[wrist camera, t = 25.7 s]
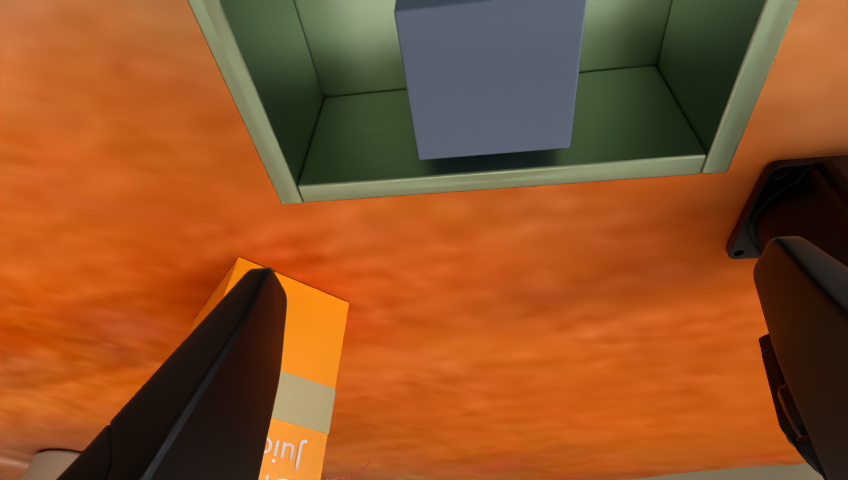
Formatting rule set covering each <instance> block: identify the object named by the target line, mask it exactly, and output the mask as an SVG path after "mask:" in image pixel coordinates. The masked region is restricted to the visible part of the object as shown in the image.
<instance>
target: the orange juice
mask: <svg viewBox="0 0 848 480" xmlns="http://www.w3.org/2000/svg"><path fill="white" fill-rule="evenodd" d="M254 268H264V267H262V266H260V265H257V264H255V263H252V262H250V261H248V260H245V259H243V258H240V257H238V259H237V260H236V261H235V263H234V264H233V266H232V267H231V269H230V270H229V271H228V273H227V274H226V276H225V277H224V279H223V280H222V281H221V283H220V284H219V286H218V287H217V288H216V290H215V291H214V293H213V294H212V296H211V297H210V298H209V300H208V301H207V303H206V304H205V306H204V307H203V308H202V310H201V311H200V313H199V314H198V315H197V317H196V318H195V320H194V322H193V324H192V327H191V329H190V331H189V334H188V336H189V335H190V334H191V333H192V331H193V330H194V329H195V328H196V327H197V326H198V325H199V324H200V323H201V322H202V321H203V319H204V318H205V317H206V316H207V315H208V314H209V313H210V312H211V311H212V310H213V308H214V307H215V306H216V305H217V304H218V303H219V302H220V301H221V300H222V299H223V297H224V296H225V295H226V294H227V293H228V292H229V291H230V290H231V289H232V288H233V286H234V285H235V284H236V283H237V282H238V281H239V280H240V279H241V278H242V277H243V275H244V274H245V273H246V272H247V271H249V270H250V269H254ZM275 274H276V276H277V278H278V279H279V281H280V283H281V285H282V287H283V288H284V290H285V292H286V296H287V311H286V322H285V333H284V344H283V354H282V365H281V373H280V379H279V384H278V389H277V394H276V399H275V403H274V408H273V413H272V418H271V422H270V427H269V432H268V437H267V441H266V446H265V451H264V455H263V460H262V465H261V470H260V474H259V479H258V480H320V478H321V472H322V466H323V460H324V453H325V447H326V441H327V435H328V434H329V429H330V423H331V416H332V410H333V404H334V398H335V392H336V389H335V386H336V380H337V374H338V368H339V362H340V356H341V349H342V343H343V337H344V331H345V325H346V319H347V313H348V307H349V303H348V302H346V301H343V300H341V299H339V298H336V297H334V296H331V295H329V294H327V293H324V292H322V291H319V290H317V289H315V288H312V287H310V286H307V285H305V284H303V283H300V282H298V281H296V280H293V279H291V278H288V277H286V276H284V275H281V274H279V273H276V272H275ZM188 336H187V337H188Z"/></svg>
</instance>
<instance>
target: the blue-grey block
mask: <svg viewBox="0 0 848 480" xmlns="http://www.w3.org/2000/svg"><path fill="white" fill-rule="evenodd" d="M585 7H586V0H396V4H395V10H394V16H395V22H396V28H397V34H398V40H399V45H400V51H401V57H402V63H403V69H404V75H405V81H406V87H407V93H408V99H409V105H410V111H411V116H412V122H413V128H414V134H415V140H416V146H417V152H418V158H419V160H424V159H436V158H449V157H461V156H473V155H486V154H498V153H510V152H522V151H535V150H547V149H559V148H569V147H570V143H571V134H572V125H573V116H574V107H575V98H576V89H577V79H578V70H579V61H580V52H581V43H582V34H583V25H584V16H585Z"/></svg>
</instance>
